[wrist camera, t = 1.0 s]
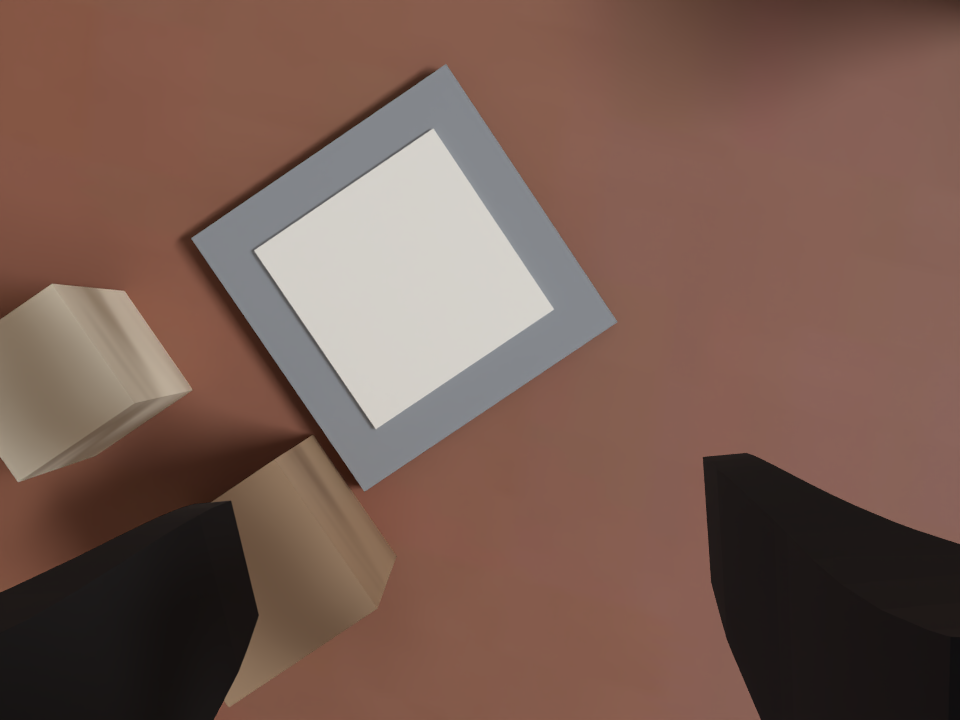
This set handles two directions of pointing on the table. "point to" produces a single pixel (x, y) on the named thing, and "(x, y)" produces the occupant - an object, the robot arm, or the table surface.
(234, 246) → the mat
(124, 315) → the maple block
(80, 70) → the table surface
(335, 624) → the walnut cube
